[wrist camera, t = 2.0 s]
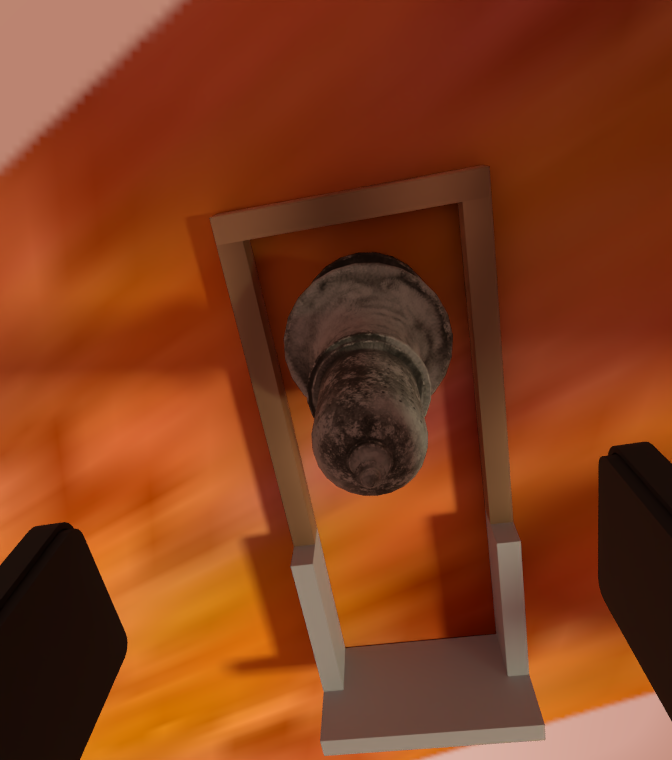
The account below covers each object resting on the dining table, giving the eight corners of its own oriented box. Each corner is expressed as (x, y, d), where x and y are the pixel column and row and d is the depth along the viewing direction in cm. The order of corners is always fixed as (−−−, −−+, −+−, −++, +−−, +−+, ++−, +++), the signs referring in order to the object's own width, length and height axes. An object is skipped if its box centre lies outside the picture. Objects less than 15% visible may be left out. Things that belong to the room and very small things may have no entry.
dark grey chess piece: (432, 232, 21) (507, 332, 10) (446, 374, 23) (519, 580, 12) (282, 257, 22) (198, 375, 11) (309, 392, 24) (263, 604, 13)
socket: (506, 505, 26) (537, 584, 21) (516, 646, 29) (545, 740, 25) (296, 530, 27) (283, 610, 22) (330, 662, 30) (324, 755, 26)
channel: (482, 165, 20) (489, 166, 19) (506, 505, 26) (513, 521, 25) (217, 214, 21) (209, 217, 20) (296, 530, 27) (294, 546, 26)
